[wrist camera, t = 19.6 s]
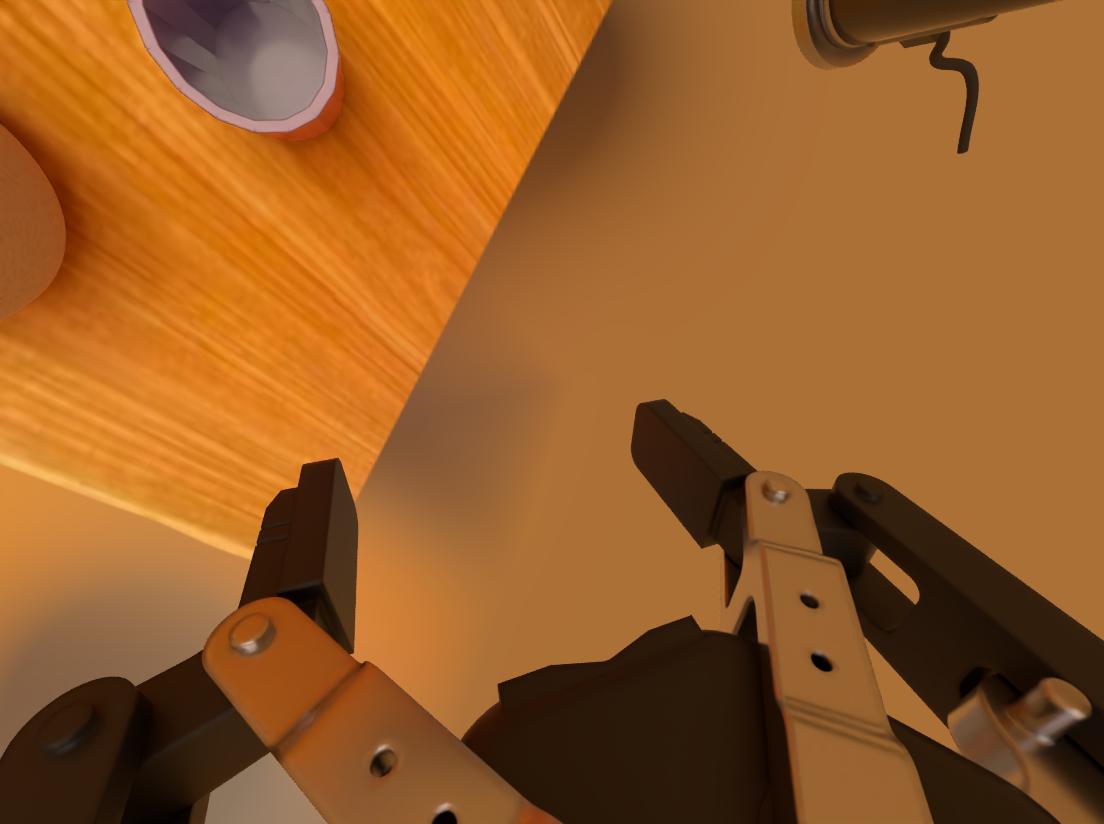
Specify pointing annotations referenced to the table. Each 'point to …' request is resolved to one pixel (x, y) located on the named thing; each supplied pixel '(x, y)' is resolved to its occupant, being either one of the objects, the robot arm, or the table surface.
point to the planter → (26, 228)
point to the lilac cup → (249, 60)
